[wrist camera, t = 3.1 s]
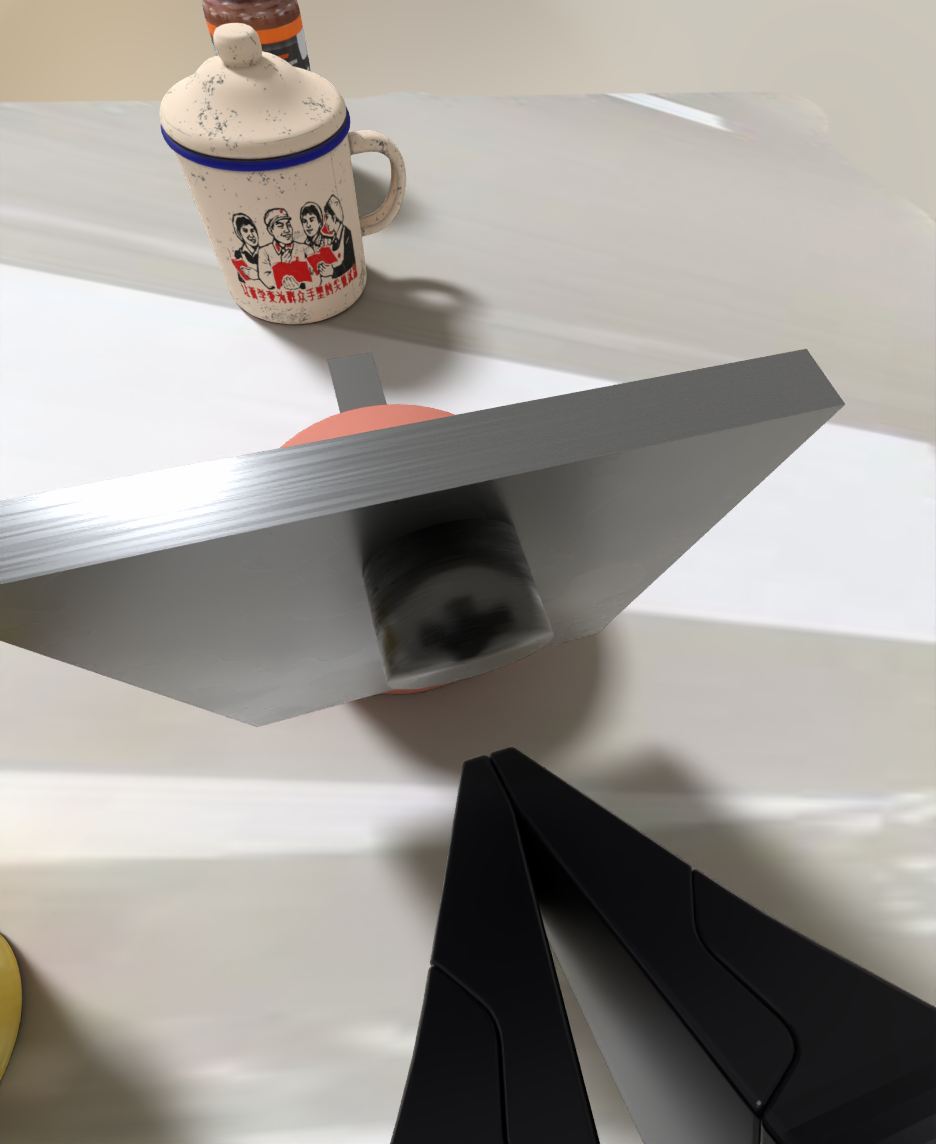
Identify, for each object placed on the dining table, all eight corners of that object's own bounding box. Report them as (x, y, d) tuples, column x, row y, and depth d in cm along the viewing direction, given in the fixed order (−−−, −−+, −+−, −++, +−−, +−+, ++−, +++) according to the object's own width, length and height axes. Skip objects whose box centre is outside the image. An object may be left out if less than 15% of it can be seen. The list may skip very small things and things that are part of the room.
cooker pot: (556, 654, 22) (585, 607, 17) (297, 727, 20) (255, 695, 16) (462, 409, 28) (465, 329, 24) (258, 447, 26) (221, 368, 22)
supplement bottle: (342, 158, 40) (308, -67, 30) (294, 192, 38) (239, -42, 28) (283, 137, 41) (231, -87, 31) (232, 167, 39) (158, -64, 29)
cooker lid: (587, 605, 17) (615, 680, 16) (252, 694, 15) (264, 783, 14) (806, 348, 7) (916, 506, 6) (-91, 518, 5) (-126, 776, 4)
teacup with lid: (242, 344, 30) (135, 85, 20) (215, 256, 34) (115, 1, 23) (433, 302, 32) (427, 52, 22) (389, 224, 36) (366, -19, 26)
